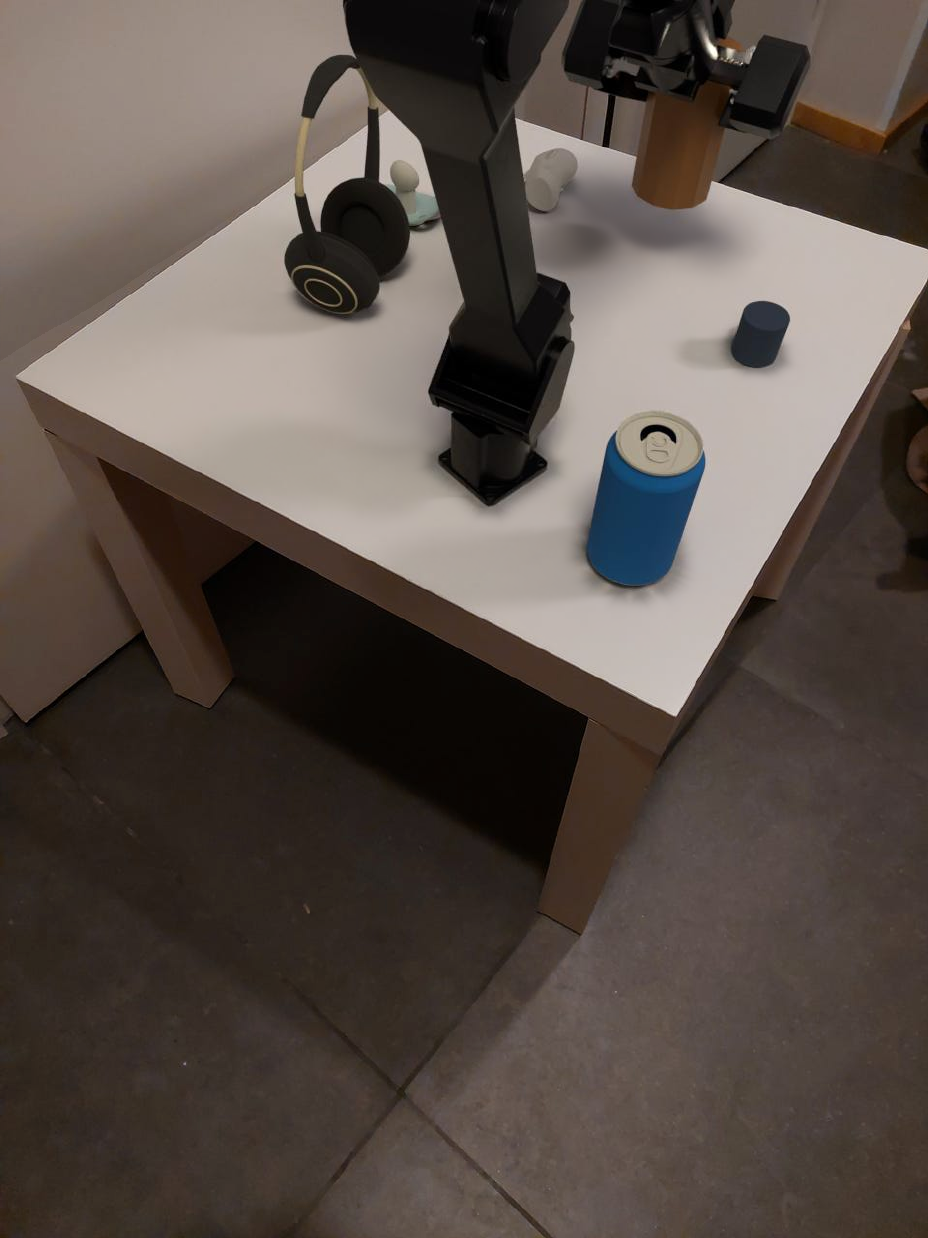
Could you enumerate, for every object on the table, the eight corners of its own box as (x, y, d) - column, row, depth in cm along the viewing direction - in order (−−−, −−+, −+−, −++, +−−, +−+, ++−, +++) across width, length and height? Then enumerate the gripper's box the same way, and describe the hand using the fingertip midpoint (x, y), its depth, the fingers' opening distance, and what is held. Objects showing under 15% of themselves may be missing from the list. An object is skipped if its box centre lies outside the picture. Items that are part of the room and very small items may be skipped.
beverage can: (670, 527, 69) (707, 409, 59) (673, 595, 66) (713, 483, 56) (586, 520, 69) (609, 402, 59) (584, 587, 66) (608, 474, 56)
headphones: (424, 256, 88) (419, 30, 71) (362, 350, 80) (340, 121, 63) (344, 237, 89) (320, 11, 73) (275, 327, 82) (231, 98, 65)
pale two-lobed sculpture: (542, 181, 97) (586, 178, 95) (512, 218, 93) (557, 216, 91) (534, 139, 94) (579, 136, 92) (502, 175, 90) (549, 173, 88)
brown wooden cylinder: (673, 218, 81) (709, 60, 70) (616, 184, 84) (642, 28, 73) (723, 190, 84) (765, 34, 73) (667, 159, 87) (699, 4, 76)
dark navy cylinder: (757, 374, 79) (770, 336, 76) (721, 350, 81) (733, 313, 77) (785, 354, 81) (799, 316, 77) (750, 331, 82) (762, 294, 79)
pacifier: (393, 191, 94) (365, 220, 91) (391, 130, 89) (361, 158, 86) (456, 210, 92) (430, 239, 89) (457, 148, 87) (430, 177, 84)
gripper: (850, -79, 60) (838, 37, 75) (596, -134, 65) (632, -16, 80) (775, 95, 63) (778, 174, 77) (536, 29, 68) (582, 115, 82)
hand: (692, 107), depth 79 cm, fingers closed on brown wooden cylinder, 7 cm apart
